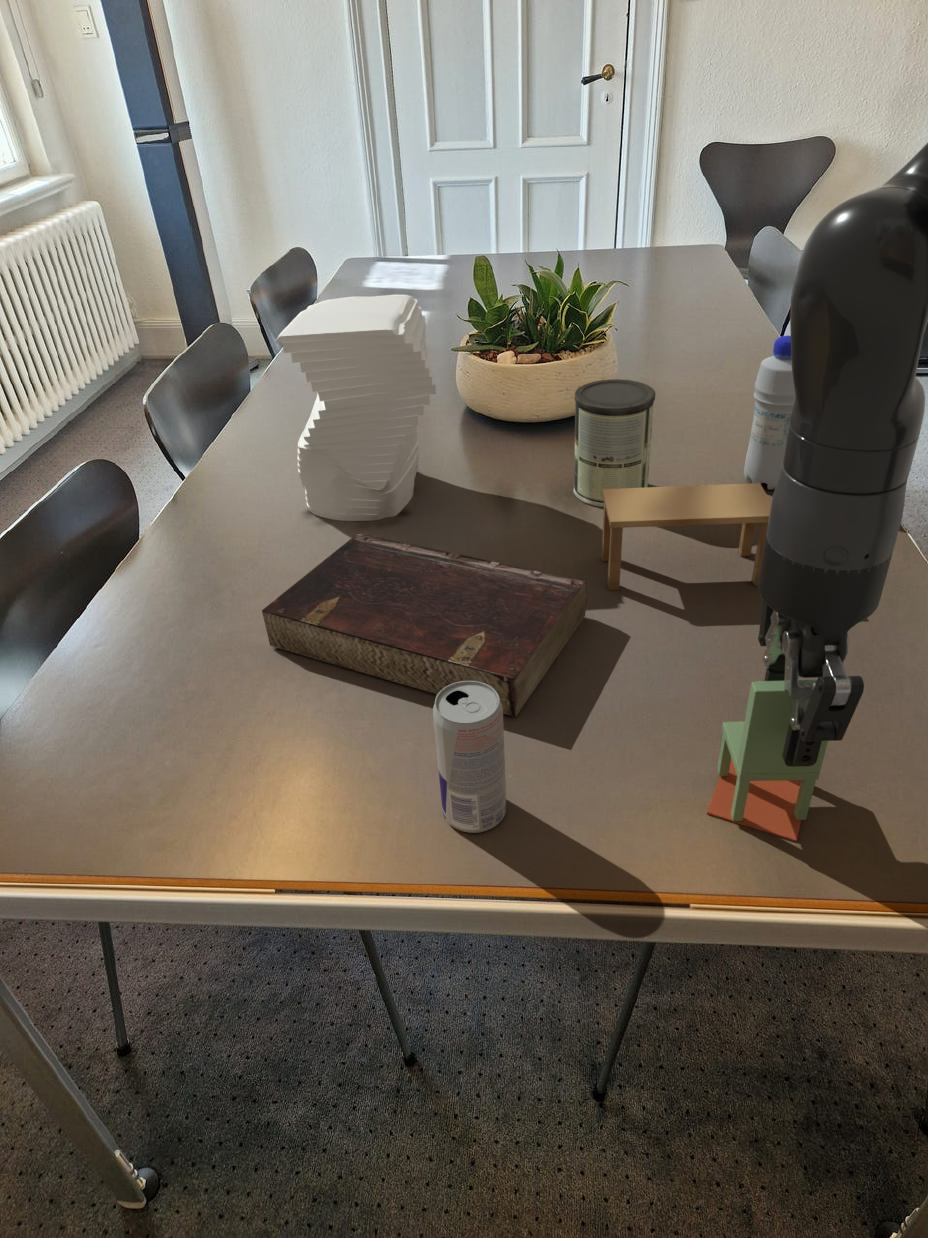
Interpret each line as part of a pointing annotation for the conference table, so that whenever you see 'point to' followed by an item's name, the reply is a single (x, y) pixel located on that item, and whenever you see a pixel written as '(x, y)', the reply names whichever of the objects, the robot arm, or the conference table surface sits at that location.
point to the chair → (765, 747)
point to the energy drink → (470, 755)
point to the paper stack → (361, 403)
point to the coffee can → (611, 437)
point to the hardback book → (429, 617)
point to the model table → (683, 515)
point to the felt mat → (760, 804)
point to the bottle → (771, 416)
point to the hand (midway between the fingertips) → (786, 733)
